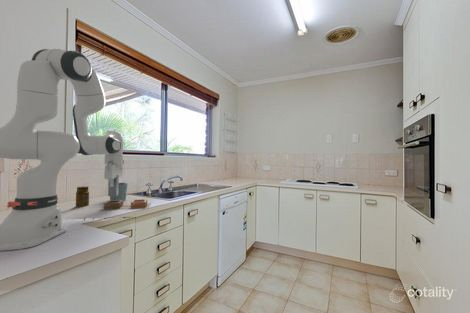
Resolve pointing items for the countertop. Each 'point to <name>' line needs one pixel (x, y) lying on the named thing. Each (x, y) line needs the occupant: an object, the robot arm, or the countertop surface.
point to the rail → (119, 204)
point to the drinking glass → (120, 192)
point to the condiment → (82, 196)
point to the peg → (113, 190)
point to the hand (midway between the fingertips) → (113, 186)
